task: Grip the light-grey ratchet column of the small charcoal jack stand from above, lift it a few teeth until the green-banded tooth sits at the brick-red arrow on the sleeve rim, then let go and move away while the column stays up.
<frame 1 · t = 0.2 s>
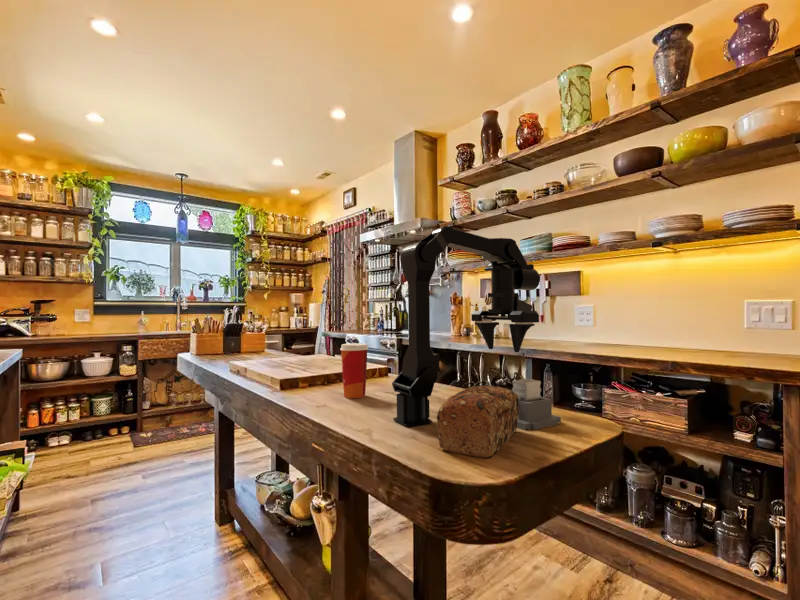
hand: (503, 350, 102), 14 cm above the countertop, tool pointing down, fingers open, 9 cm apart
column: (526, 400, 88), point 5 cm above the countertop, slide at 0.0 cm
coffee cup: (354, 397, 115), on the countertop
bread: (480, 441, 76), on the countertop
stand base: (527, 421, 88), on the countertop
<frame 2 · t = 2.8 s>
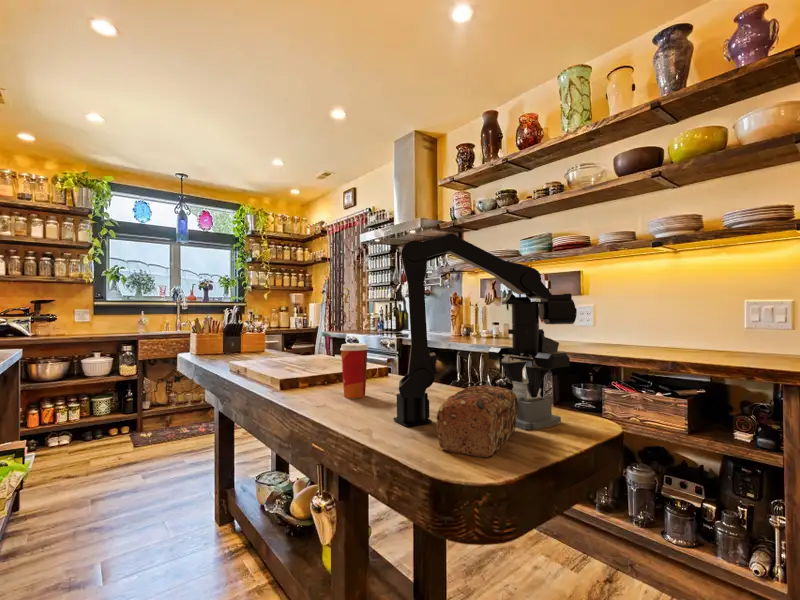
hand: (526, 395, 88), 6 cm above the countertop, tool pointing down, fingers closed on column, 4 cm apart
column: (526, 400, 88), point 5 cm above the countertop, slide at 0.0 cm, touching gripper
everything else where it was.
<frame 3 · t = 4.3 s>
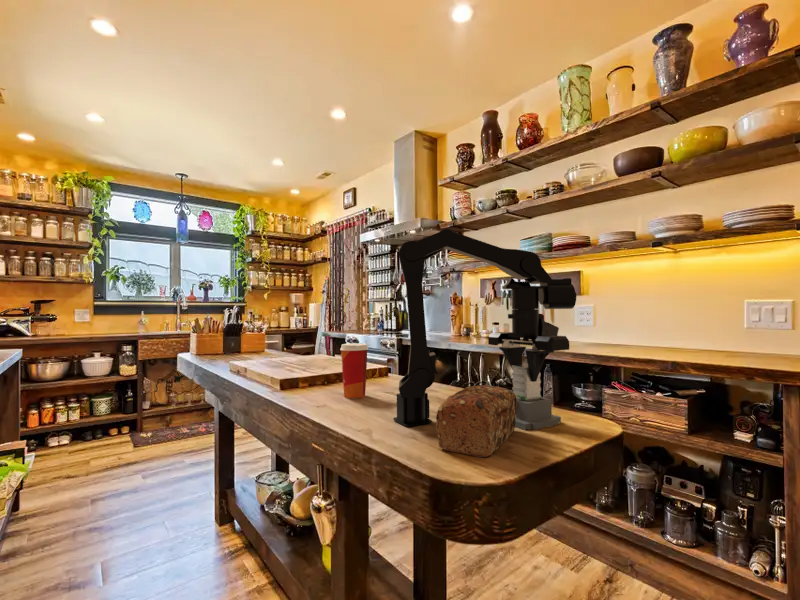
hand: (526, 380, 89), 9 cm above the countertop, tool pointing down, fingers closed on column, 4 cm apart
column: (526, 384, 89), point 8 cm above the countertop, slide at 3.4 cm, touching gripper
everything else where it was.
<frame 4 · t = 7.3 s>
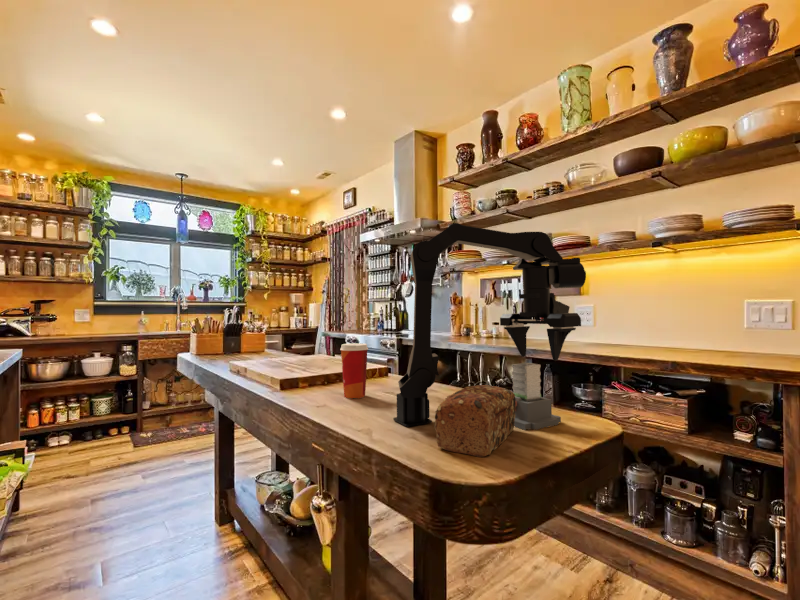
hand: (538, 358, 90), 14 cm above the countertop, tool pointing down, fingers open, 9 cm apart
column: (526, 383, 89), point 8 cm above the countertop, slide at 3.6 cm
everything else where it was.
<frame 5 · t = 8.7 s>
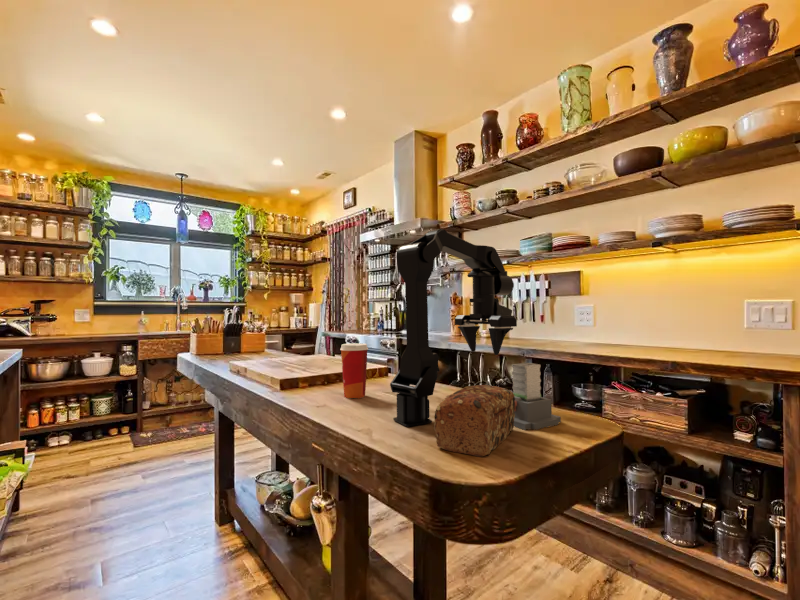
hand: (484, 353, 107), 13 cm above the countertop, tool pointing down, fingers open, 9 cm apart
nothing on the countertop moved.
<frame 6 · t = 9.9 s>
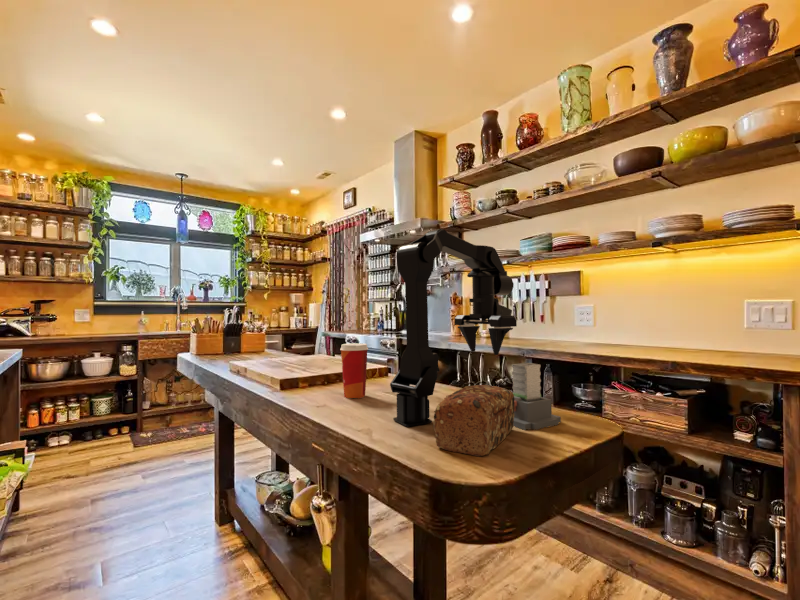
hand: (484, 353, 107), 13 cm above the countertop, tool pointing down, fingers open, 9 cm apart
nothing on the countertop moved.
at the end: column slide at 3.6 cm; the gripper is holding nothing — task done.
